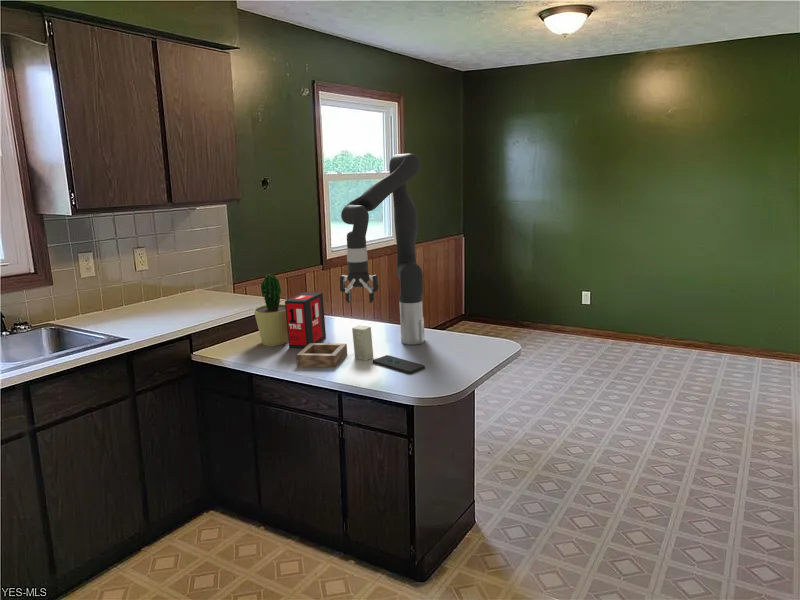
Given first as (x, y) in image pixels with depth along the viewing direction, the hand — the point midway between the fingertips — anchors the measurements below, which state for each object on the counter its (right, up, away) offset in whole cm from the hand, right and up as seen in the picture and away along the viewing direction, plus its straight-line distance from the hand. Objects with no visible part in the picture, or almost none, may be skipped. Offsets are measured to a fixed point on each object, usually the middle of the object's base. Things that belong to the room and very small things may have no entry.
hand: (360, 302), depth 227 cm
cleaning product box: (-24, -17, +28) cm, 41 cm away
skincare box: (+1, -21, +5) cm, 22 cm away
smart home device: (+14, -24, -6) cm, 28 cm away
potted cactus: (-38, -17, +32) cm, 53 cm away
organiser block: (-14, -22, +4) cm, 27 cm away
